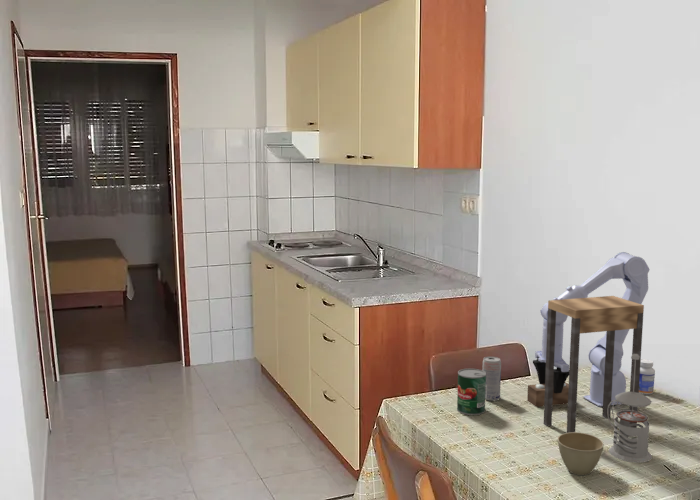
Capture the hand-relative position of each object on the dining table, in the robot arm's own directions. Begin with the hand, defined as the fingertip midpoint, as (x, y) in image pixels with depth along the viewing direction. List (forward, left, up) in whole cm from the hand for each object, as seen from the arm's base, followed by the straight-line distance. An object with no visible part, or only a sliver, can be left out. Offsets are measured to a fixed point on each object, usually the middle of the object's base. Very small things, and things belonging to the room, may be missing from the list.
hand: (550, 388), depth 200 cm
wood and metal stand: (+1, +20, -4) cm, 20 cm away
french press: (+1, +35, -4) cm, 35 cm away
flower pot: (+18, +40, -4) cm, 44 cm away
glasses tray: (0, 0, -4) cm, 4 cm away
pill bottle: (-32, +1, -4) cm, 32 cm away
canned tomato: (+25, -1, -4) cm, 25 cm away
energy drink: (+15, -8, -4) cm, 17 cm away
